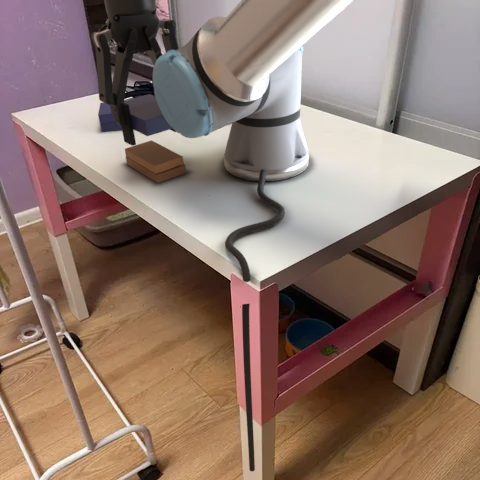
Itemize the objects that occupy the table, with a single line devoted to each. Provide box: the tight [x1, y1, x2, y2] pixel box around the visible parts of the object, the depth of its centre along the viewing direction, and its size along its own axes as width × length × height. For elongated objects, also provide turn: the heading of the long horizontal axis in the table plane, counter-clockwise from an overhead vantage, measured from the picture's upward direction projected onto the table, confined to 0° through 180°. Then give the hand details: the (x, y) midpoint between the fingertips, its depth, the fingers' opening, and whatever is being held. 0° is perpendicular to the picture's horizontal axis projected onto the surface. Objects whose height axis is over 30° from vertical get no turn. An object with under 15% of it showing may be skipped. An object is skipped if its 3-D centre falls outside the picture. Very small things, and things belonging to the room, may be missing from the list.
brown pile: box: [124, 140, 187, 184], centre depth 92 cm, size 11×6×3 cm, turn 39°
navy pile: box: [97, 102, 122, 133], centre depth 111 cm, size 12×8×4 cm, turn 99°
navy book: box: [110, 93, 173, 137], centre depth 87 cm, size 12×8×2 cm, turn 39°
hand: (152, 136), depth 89 cm, fingers closed on navy book, 8 cm apart
